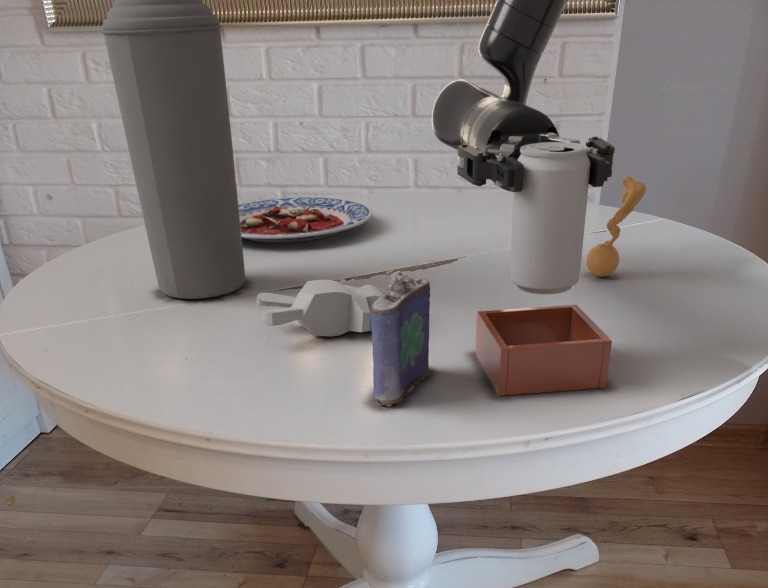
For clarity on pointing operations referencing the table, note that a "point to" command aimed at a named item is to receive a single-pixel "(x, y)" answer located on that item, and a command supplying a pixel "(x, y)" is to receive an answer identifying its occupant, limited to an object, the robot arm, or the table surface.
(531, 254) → the beverage can
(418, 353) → the flask
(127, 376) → the table surface
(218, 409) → the table surface
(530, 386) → the box
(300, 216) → the ceramic plate
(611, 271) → the figurine
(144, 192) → the canister
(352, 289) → the bunny figurine
